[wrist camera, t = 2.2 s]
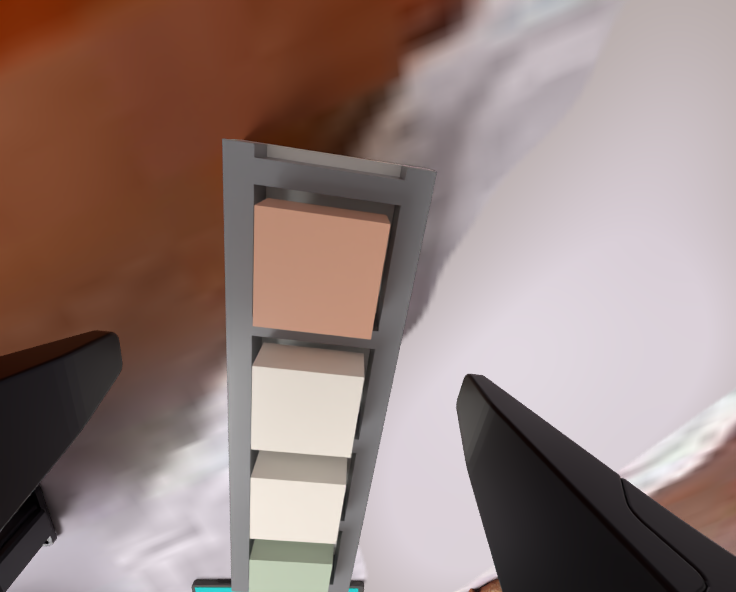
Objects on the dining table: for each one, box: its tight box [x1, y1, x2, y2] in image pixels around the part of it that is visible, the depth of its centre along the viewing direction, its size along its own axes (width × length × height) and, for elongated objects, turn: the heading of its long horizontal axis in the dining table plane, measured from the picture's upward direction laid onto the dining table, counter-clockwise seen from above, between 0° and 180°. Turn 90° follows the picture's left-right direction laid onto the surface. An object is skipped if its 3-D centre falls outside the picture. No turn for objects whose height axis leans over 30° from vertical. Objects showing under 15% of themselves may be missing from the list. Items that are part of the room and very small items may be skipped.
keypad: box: [222, 139, 437, 592], centre depth 21 cm, size 30×9×4 cm, turn 172°
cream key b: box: [250, 450, 347, 544], centre depth 20 cm, size 5×5×2 cm
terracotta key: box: [253, 198, 390, 339], centre depth 14 cm, size 5×5×2 cm
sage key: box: [249, 539, 334, 592], centre depth 23 cm, size 5×5×2 cm
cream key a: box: [251, 342, 364, 458], centre depth 17 cm, size 5×5×2 cm
